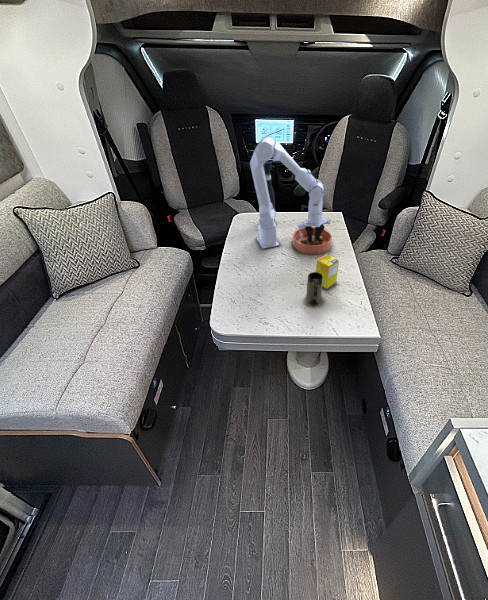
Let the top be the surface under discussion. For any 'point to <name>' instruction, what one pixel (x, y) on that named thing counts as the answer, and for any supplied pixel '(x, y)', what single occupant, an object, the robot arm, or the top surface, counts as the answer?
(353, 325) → the top surface
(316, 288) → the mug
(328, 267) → the supplement box
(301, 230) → the bowl
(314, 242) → the brown wooden block
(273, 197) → the wine bottle
